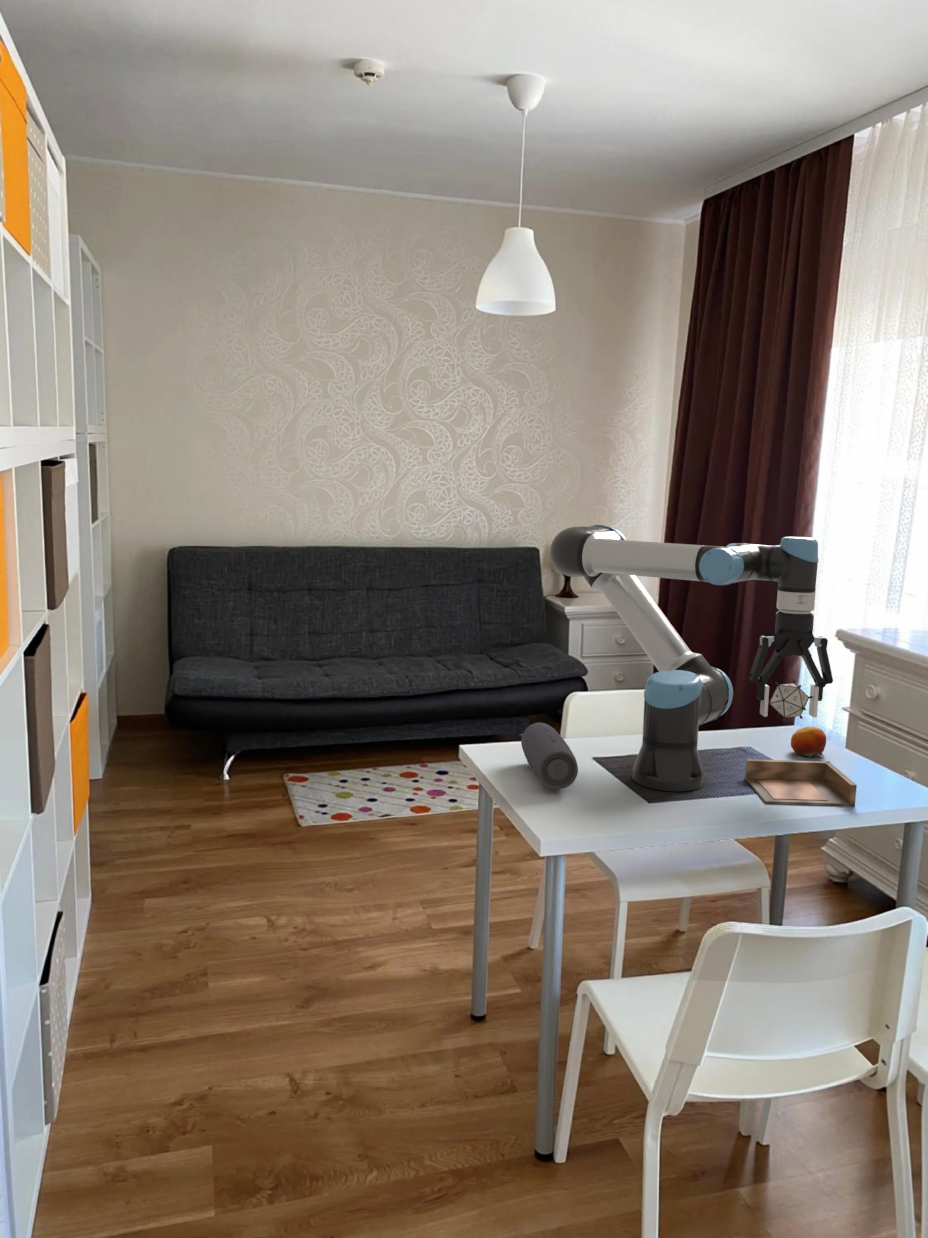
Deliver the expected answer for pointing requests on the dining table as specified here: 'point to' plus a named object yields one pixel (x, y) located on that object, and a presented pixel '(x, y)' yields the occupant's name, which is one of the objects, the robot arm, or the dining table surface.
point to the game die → (789, 700)
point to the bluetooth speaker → (549, 756)
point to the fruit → (808, 741)
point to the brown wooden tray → (800, 782)
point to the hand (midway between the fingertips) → (788, 715)
